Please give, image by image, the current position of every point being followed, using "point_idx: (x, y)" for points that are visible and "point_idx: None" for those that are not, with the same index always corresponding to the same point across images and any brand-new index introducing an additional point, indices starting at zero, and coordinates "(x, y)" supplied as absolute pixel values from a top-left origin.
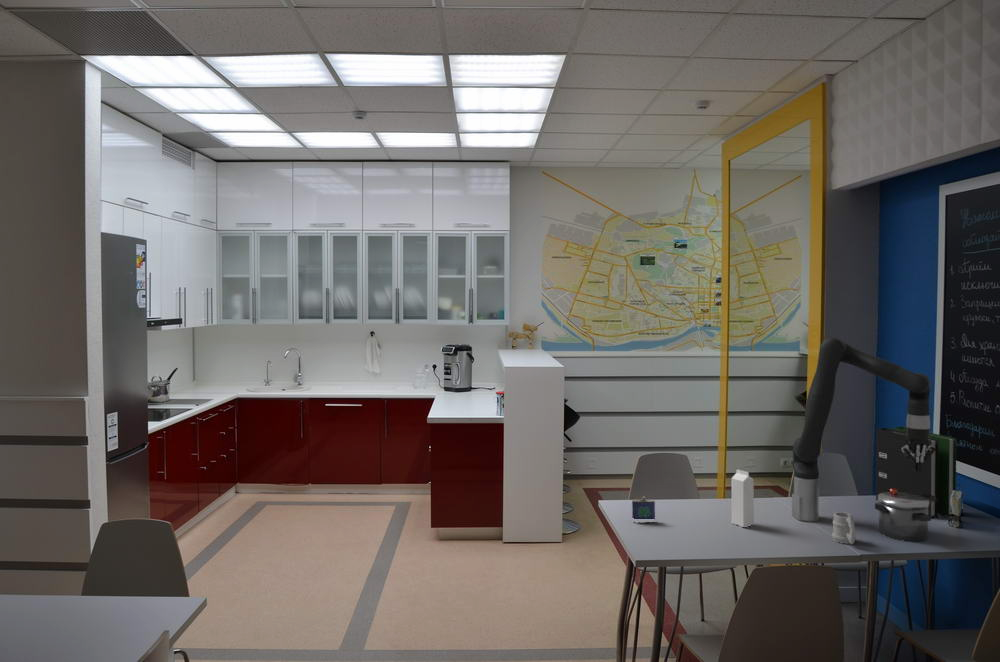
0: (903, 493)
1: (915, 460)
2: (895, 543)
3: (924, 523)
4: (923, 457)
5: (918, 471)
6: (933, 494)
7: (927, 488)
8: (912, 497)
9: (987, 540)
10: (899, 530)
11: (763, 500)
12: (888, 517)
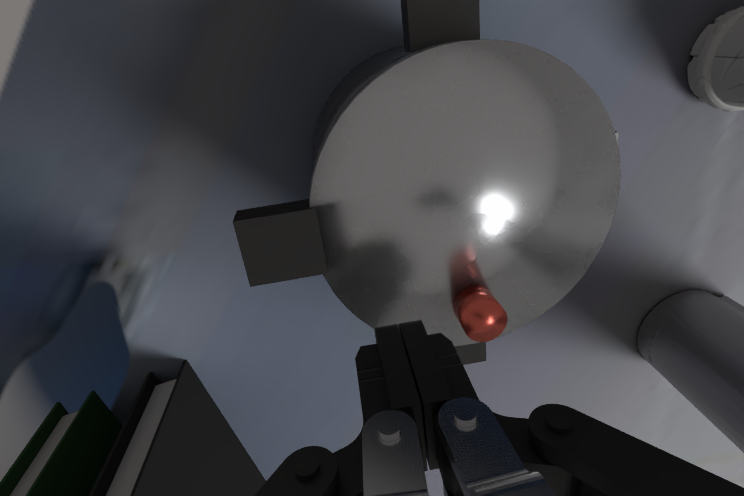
0: (404, 316)
1: (495, 430)
2: (522, 22)
3: (375, 66)
4: (368, 491)
5: (410, 323)
6: (128, 463)
7: (153, 486)
8: (396, 231)
9: (28, 75)
10: None
11: None
12: None
